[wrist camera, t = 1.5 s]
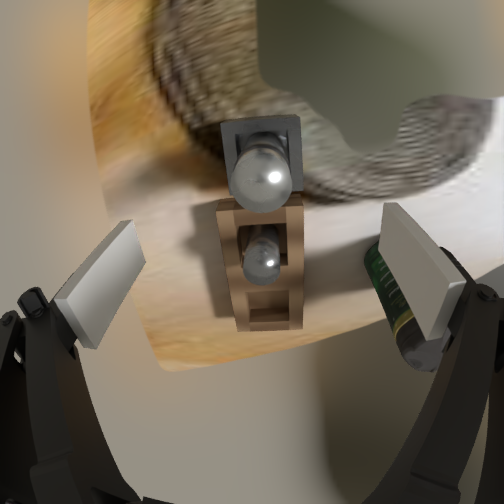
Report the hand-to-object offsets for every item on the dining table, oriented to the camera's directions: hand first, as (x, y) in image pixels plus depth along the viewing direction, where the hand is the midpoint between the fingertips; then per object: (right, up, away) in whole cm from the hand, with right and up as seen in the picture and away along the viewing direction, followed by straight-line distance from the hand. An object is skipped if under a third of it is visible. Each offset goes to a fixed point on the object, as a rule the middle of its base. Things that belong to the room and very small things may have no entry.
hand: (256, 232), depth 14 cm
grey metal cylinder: (+1, +11, +17) cm, 20 cm away
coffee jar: (+21, -2, +25) cm, 32 cm away
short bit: (+1, +1, +23) cm, 23 cm away
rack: (+2, -2, +26) cm, 26 cm away
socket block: (+1, +11, +18) cm, 21 cm away
